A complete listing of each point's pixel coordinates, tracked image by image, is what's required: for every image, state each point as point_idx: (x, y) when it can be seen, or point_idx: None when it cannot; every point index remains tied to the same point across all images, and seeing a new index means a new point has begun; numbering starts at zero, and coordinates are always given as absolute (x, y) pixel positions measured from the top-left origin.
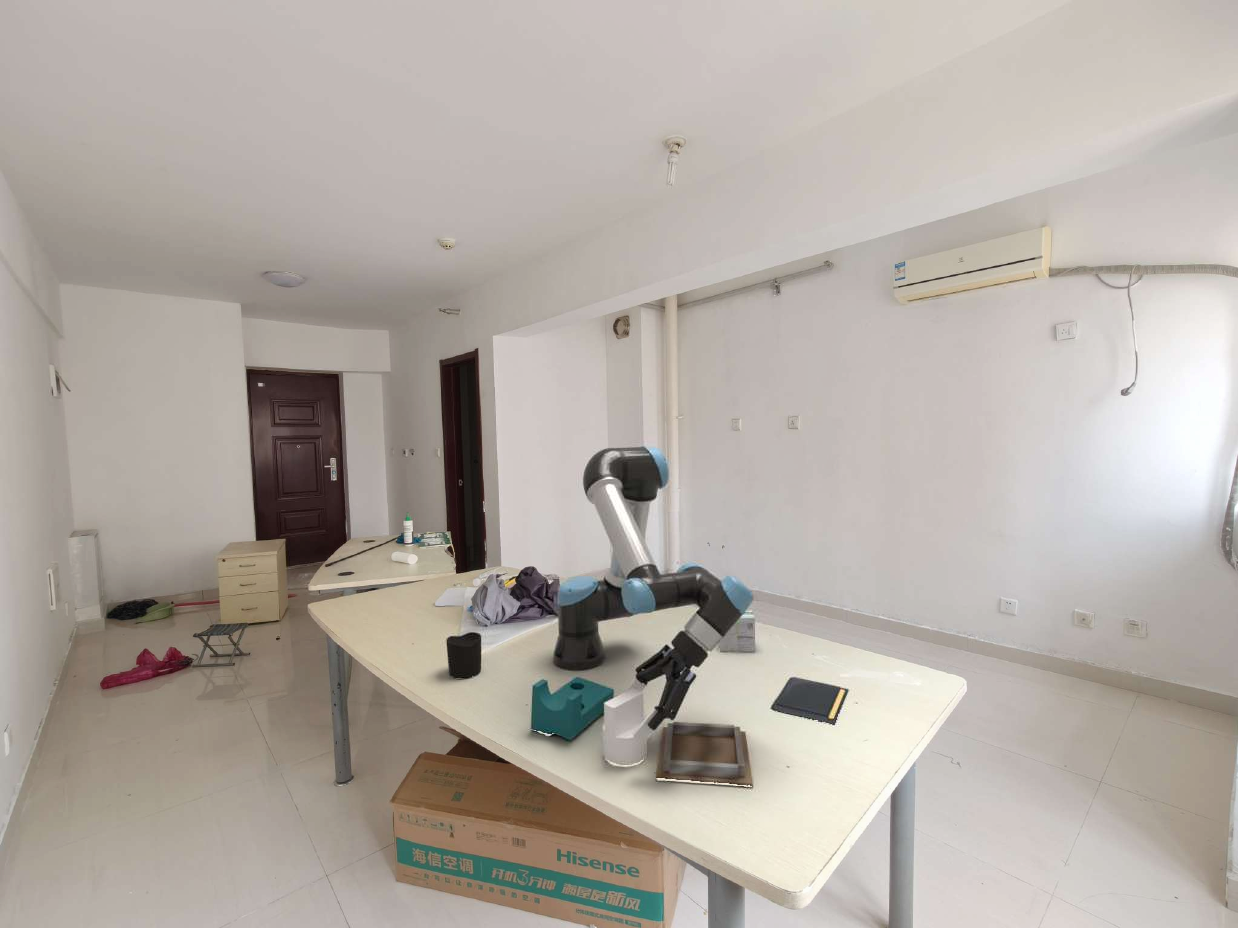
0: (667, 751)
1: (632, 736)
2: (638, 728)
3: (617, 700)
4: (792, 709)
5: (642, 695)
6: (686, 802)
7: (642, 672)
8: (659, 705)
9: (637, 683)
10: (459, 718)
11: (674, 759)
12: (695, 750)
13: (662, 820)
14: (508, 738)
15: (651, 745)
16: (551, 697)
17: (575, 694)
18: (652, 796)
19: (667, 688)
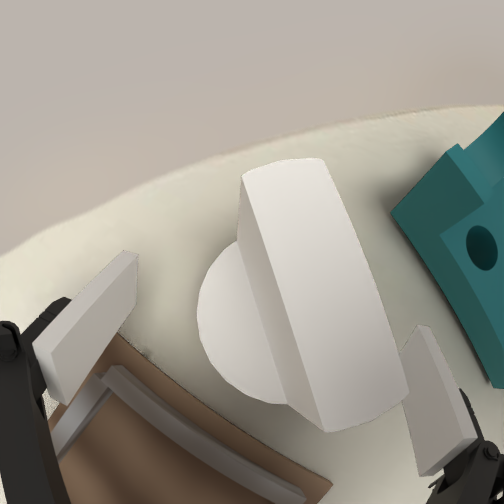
0: (149, 410)
1: (204, 302)
2: (112, 270)
3: (314, 230)
4: None
5: (317, 421)
6: None
7: (478, 484)
8: (16, 369)
9: (446, 439)
10: (490, 109)
11: (154, 427)
12: (166, 499)
13: (19, 261)
14: (433, 129)
15: (275, 418)
16: (499, 171)
17: (477, 178)
18: (76, 287)
19: (8, 489)
